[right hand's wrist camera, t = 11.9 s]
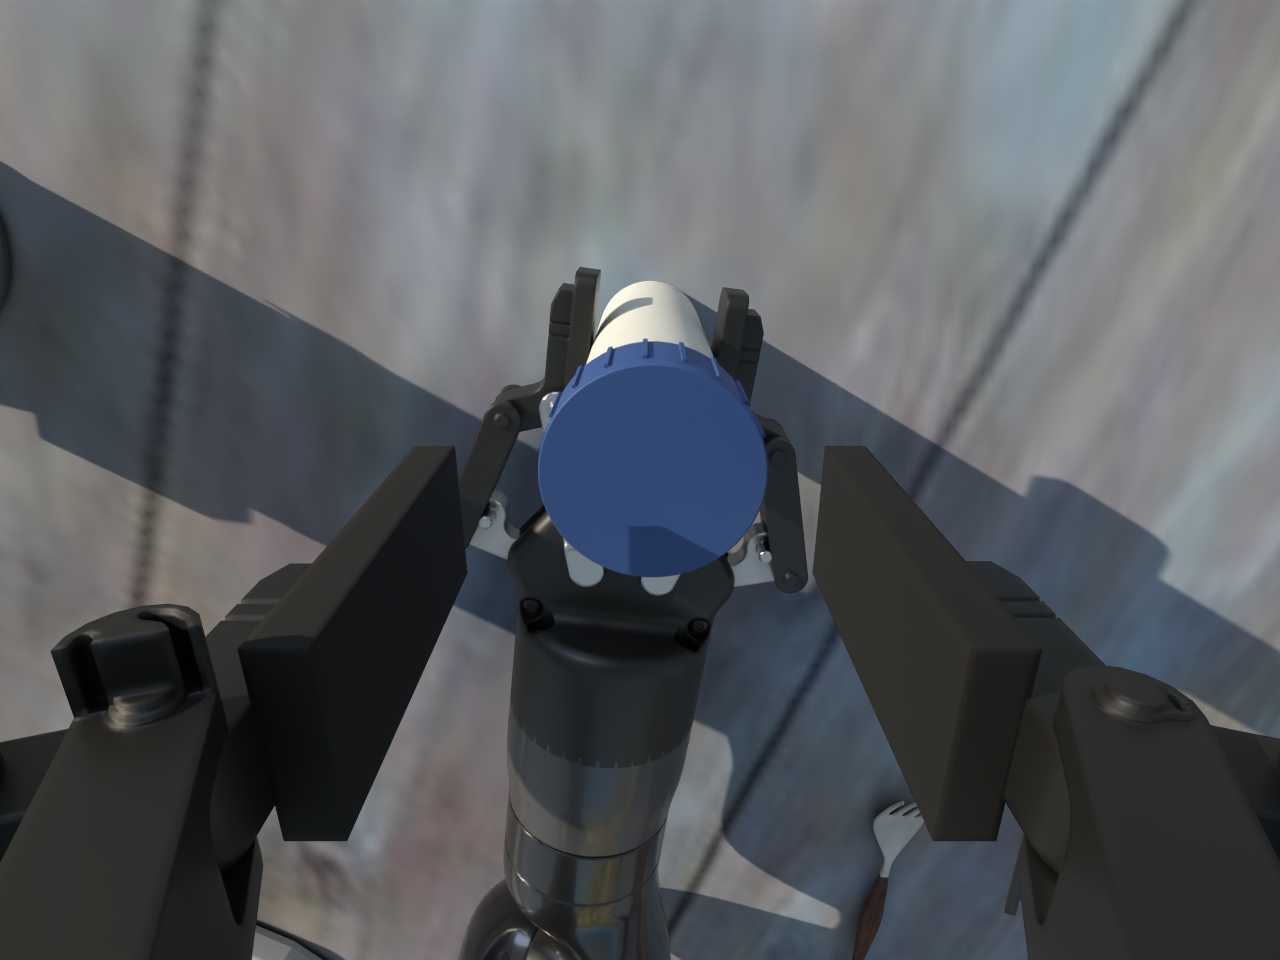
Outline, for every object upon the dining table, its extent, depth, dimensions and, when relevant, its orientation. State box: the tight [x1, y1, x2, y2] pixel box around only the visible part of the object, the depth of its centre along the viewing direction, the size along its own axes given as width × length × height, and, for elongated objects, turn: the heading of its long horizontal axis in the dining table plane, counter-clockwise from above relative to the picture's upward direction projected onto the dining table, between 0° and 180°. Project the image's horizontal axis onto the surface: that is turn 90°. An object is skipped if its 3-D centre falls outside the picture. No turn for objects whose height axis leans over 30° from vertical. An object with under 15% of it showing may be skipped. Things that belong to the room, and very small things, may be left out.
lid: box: [538, 338, 768, 577], centre depth 16 cm, size 5×5×2 cm
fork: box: [852, 801, 924, 960], centre depth 41 cm, size 3×16×2 cm, turn 174°
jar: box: [586, 281, 713, 364], centre depth 23 cm, size 4×4×16 cm
